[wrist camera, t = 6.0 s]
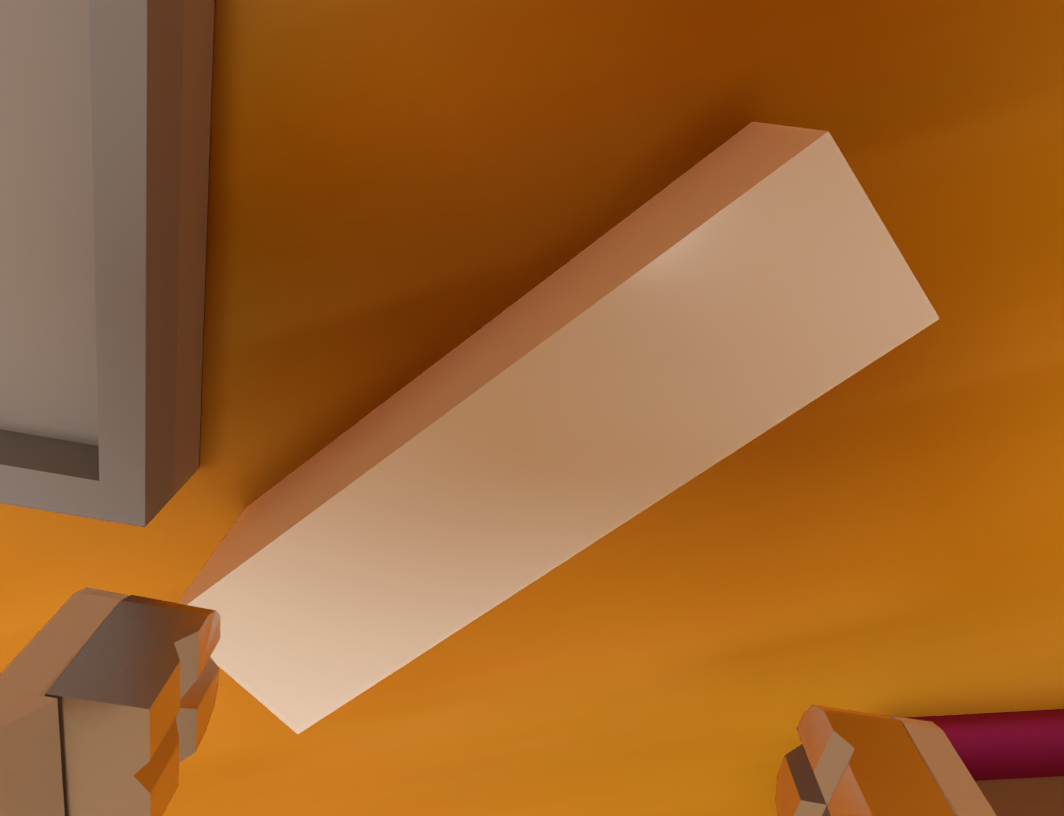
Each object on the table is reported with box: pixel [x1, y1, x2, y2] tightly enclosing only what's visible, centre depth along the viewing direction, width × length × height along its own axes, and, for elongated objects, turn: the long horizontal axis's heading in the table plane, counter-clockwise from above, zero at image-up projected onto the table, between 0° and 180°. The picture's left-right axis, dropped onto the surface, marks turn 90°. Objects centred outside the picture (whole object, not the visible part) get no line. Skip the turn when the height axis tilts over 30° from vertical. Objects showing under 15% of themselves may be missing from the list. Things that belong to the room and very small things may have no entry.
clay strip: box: [178, 122, 940, 734], centre depth 17 cm, size 16×4×5 cm, turn 128°
